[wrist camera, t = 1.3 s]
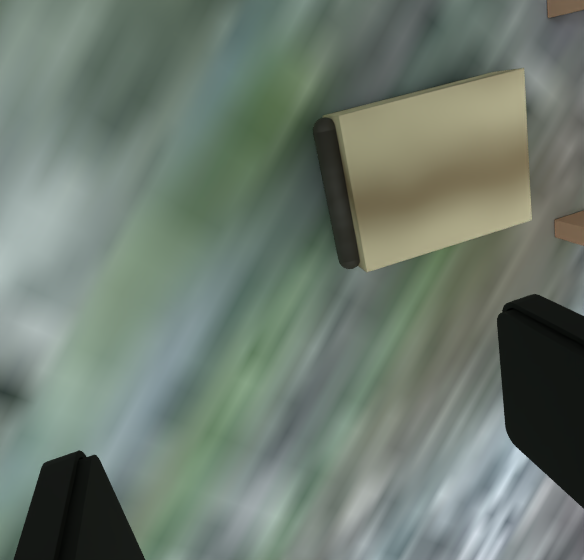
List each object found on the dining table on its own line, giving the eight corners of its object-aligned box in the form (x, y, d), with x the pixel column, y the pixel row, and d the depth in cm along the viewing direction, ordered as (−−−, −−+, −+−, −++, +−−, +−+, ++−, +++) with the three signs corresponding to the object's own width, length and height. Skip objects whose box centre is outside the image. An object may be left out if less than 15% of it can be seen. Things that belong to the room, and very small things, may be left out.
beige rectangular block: (297, 120, 27) (318, 120, 23) (480, 73, 29) (524, 68, 25) (327, 259, 30) (349, 277, 26) (491, 208, 32) (531, 220, 28)
